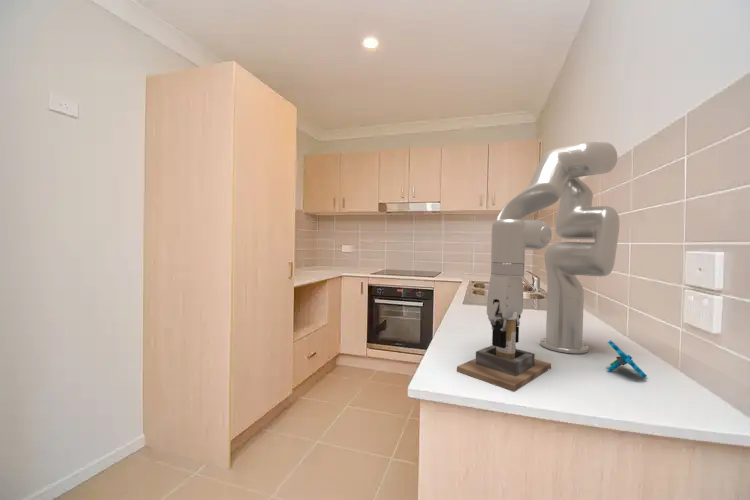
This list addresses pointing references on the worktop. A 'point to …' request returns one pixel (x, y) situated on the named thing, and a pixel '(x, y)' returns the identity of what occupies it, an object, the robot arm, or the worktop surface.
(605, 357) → the worktop surface
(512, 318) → the sprinkles bottle
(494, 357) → the caddy
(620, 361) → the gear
